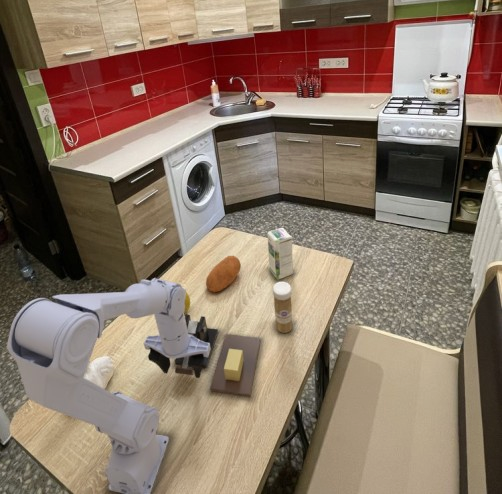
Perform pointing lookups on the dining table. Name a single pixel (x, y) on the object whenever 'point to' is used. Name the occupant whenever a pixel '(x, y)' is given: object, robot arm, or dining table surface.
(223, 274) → the potato
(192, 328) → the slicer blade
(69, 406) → the robot arm
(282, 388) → the dining table surface
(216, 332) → the slicer
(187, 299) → the lemon
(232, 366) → the butter
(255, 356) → the board
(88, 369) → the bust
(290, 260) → the syrup box
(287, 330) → the sprinkles bottle
